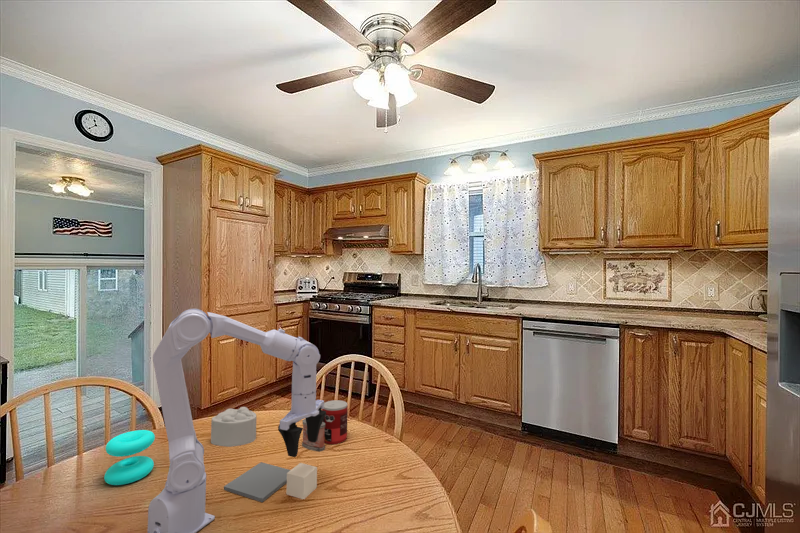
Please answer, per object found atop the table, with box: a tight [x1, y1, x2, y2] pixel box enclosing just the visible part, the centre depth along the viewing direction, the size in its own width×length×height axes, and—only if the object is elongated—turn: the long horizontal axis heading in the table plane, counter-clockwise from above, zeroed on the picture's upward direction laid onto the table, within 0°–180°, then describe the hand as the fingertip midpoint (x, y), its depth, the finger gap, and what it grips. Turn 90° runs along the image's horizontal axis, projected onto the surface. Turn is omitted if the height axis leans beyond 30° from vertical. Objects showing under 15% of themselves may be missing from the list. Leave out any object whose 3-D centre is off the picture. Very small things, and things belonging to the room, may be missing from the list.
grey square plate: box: [223, 461, 291, 503], centre depth 86 cm, size 12×12×1 cm
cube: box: [285, 462, 318, 500], centre depth 82 cm, size 5×5×5 cm
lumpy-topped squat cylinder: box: [210, 406, 257, 448], centre depth 109 cm, size 10×13×9 cm
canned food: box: [321, 399, 349, 445], centre depth 109 cm, size 8×8×11 cm
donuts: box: [103, 429, 156, 486], centre depth 88 cm, size 10×10×10 cm
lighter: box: [301, 418, 326, 452], centre depth 104 cm, size 8×3×10 cm, turn 62°
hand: (302, 448), depth 83 cm, fingers open, 7 cm apart
